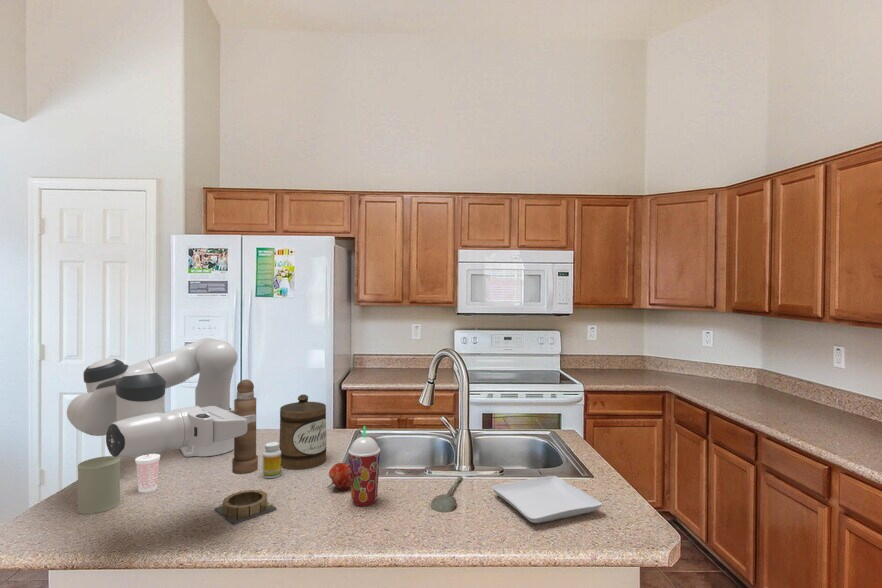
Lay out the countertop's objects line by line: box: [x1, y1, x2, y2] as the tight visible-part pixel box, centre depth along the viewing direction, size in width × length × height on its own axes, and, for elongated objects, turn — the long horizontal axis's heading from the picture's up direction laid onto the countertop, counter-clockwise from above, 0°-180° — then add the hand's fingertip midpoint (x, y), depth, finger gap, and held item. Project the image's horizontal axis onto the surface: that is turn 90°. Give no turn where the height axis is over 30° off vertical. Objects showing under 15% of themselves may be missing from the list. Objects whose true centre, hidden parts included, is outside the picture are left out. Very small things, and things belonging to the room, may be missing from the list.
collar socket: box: [214, 489, 277, 526], centre depth 123 cm, size 11×11×3 cm
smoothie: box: [348, 425, 381, 507], centre depth 128 cm, size 8×8×20 cm
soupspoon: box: [430, 475, 464, 513], centre depth 132 cm, size 22×3×7 cm
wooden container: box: [278, 394, 327, 470], centre depth 158 cm, size 15×15×22 cm
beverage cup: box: [134, 453, 161, 493], centre depth 136 cm, size 6×6×14 cm
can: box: [77, 455, 122, 515], centre depth 125 cm, size 9×9×12 cm
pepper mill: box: [231, 379, 259, 475], centre depth 122 cm, size 6×6×23 cm
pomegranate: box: [327, 462, 351, 491], centre depth 137 cm, size 7×7×10 cm
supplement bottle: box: [262, 441, 282, 479], centre depth 146 cm, size 5×5×10 cm
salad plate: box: [491, 475, 603, 524], centre depth 126 cm, size 21×21×3 cm
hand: (248, 415), depth 123 cm, fingers closed on pepper mill, 5 cm apart
